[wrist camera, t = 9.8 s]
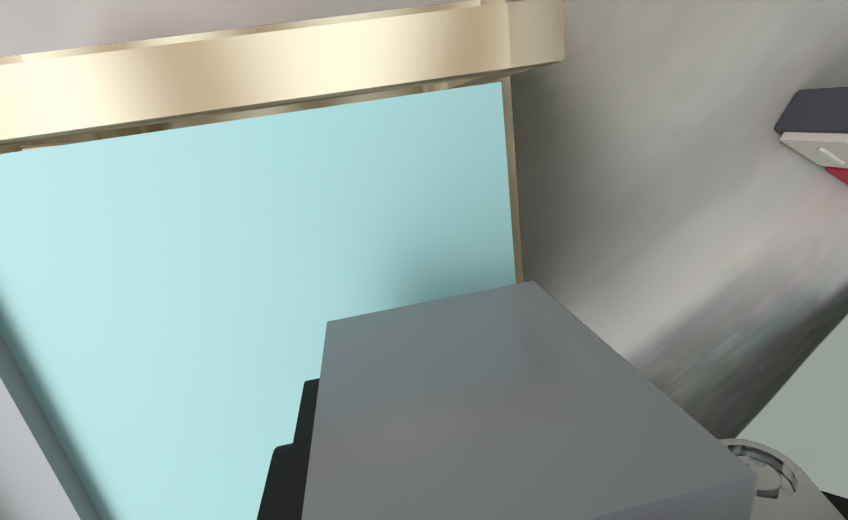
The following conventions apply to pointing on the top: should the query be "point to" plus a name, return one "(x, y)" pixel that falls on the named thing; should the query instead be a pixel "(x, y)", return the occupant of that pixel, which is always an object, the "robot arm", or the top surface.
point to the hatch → (221, 289)
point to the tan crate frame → (278, 73)
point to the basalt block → (504, 422)
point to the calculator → (819, 128)
